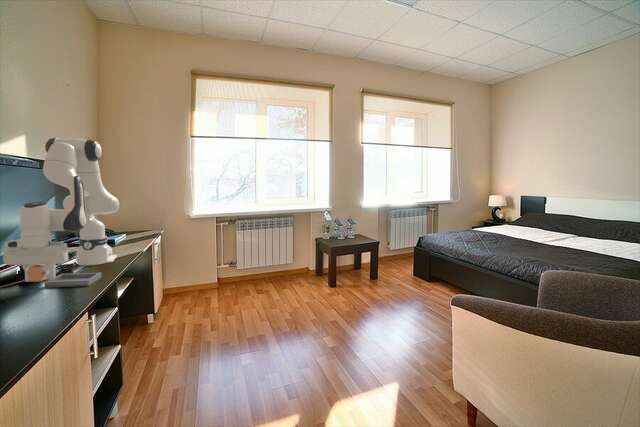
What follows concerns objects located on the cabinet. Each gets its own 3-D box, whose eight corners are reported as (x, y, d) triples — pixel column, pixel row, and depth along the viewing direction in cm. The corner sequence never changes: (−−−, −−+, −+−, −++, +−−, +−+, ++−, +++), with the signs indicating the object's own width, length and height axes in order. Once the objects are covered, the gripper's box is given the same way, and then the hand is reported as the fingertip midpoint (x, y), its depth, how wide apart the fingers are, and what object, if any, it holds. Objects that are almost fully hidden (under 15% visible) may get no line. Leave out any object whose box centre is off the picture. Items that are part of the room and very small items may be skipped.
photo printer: (56, 277, 136) (55, 251, 135) (54, 279, 132) (53, 253, 131) (26, 280, 130) (25, 253, 129) (23, 282, 126) (22, 255, 125)
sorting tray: (61, 279, 133) (61, 273, 133) (101, 277, 138) (101, 272, 137) (44, 287, 122) (44, 282, 122) (88, 285, 126) (88, 280, 126)
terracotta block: (35, 278, 119) (35, 264, 118) (47, 278, 120) (46, 264, 120) (28, 281, 115) (28, 267, 115) (40, 281, 116) (40, 266, 116)
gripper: (71, 240, 122) (72, 271, 123) (11, 240, 116) (13, 273, 118) (62, 242, 116) (63, 275, 117) (-1, 243, 110) (1, 277, 112)
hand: (37, 274), depth 117 cm, fingers closed on terracotta block, 4 cm apart
